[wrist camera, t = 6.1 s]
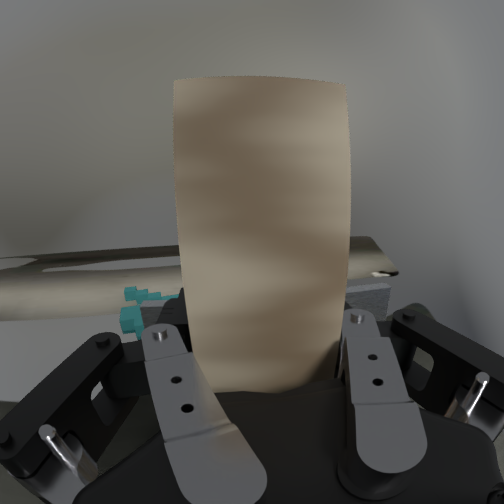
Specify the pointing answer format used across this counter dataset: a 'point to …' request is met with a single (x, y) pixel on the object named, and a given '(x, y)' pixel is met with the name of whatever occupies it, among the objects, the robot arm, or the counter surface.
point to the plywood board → (263, 226)
